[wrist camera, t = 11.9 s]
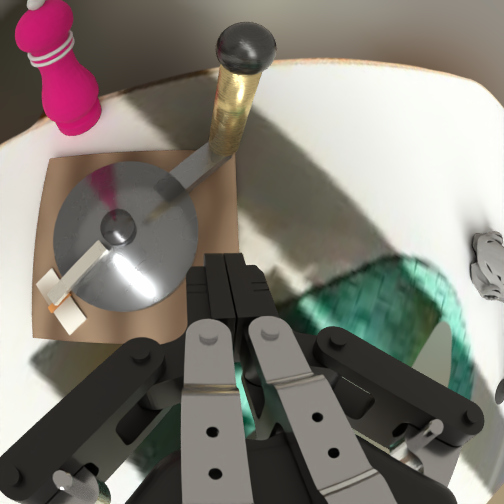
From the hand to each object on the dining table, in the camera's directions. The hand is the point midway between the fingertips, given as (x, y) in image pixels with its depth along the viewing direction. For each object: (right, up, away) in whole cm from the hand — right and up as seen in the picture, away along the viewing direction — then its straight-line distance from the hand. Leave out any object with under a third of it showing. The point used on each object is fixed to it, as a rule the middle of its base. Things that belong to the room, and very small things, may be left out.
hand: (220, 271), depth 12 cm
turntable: (-9, +4, +16) cm, 18 cm away
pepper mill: (-21, +18, +19) cm, 33 cm away
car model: (+46, -4, +28) cm, 54 cm away
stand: (-11, +2, +17) cm, 20 cm away
